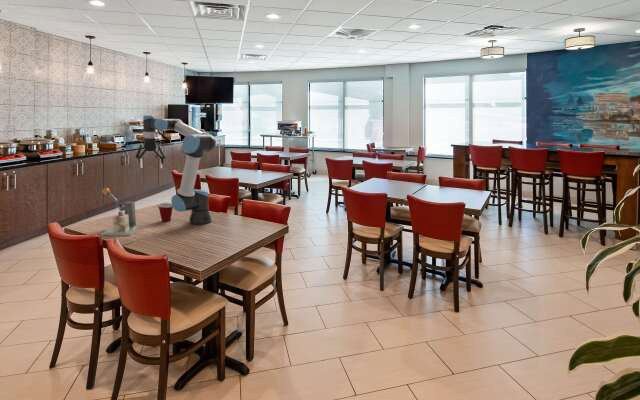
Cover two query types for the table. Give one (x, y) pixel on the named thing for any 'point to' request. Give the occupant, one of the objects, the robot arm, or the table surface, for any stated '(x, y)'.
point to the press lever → (113, 198)
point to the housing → (120, 222)
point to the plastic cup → (165, 211)
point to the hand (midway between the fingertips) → (151, 168)
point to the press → (130, 210)
